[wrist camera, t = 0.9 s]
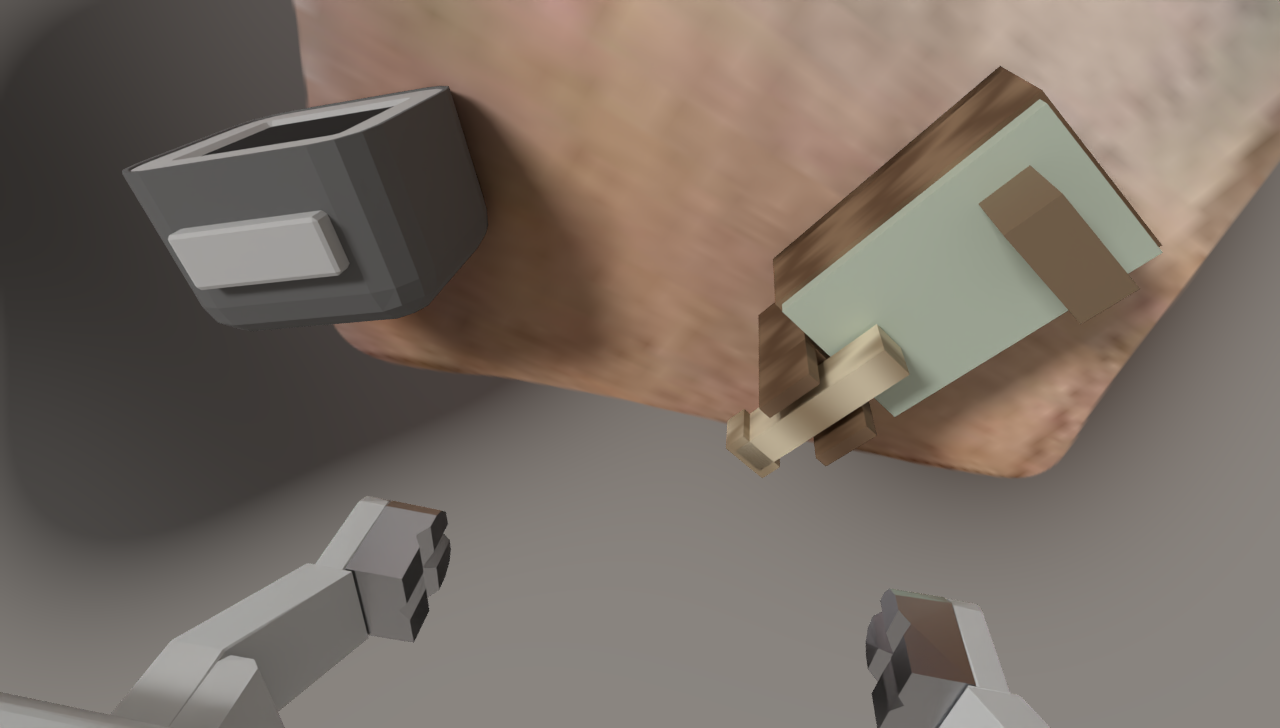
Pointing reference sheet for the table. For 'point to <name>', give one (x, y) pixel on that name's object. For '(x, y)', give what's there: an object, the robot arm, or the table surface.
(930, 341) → the lid
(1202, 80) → the table surface
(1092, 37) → the table surface
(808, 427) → the bar
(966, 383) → the table surface
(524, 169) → the table surface
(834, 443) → the chest
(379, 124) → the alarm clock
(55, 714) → the robot arm
